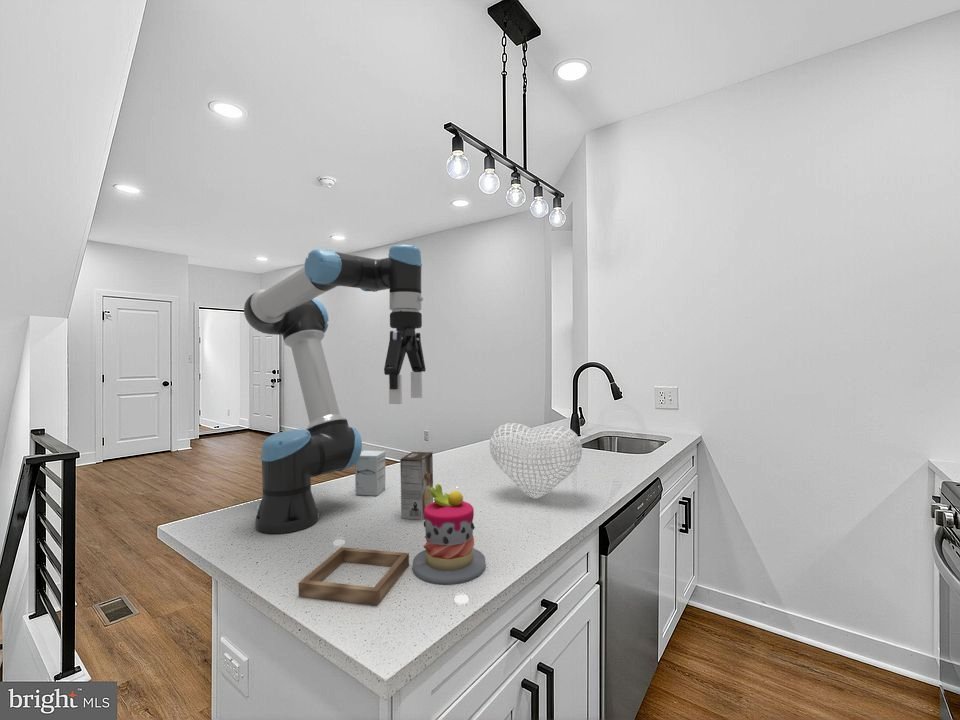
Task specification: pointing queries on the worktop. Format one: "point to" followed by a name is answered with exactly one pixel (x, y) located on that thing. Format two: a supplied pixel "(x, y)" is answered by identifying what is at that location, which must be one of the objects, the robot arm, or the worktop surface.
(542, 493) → the heart
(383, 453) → the supplement box
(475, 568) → the plate
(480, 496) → the worktop surface
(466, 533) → the cake
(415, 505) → the coffee box
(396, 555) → the frame
